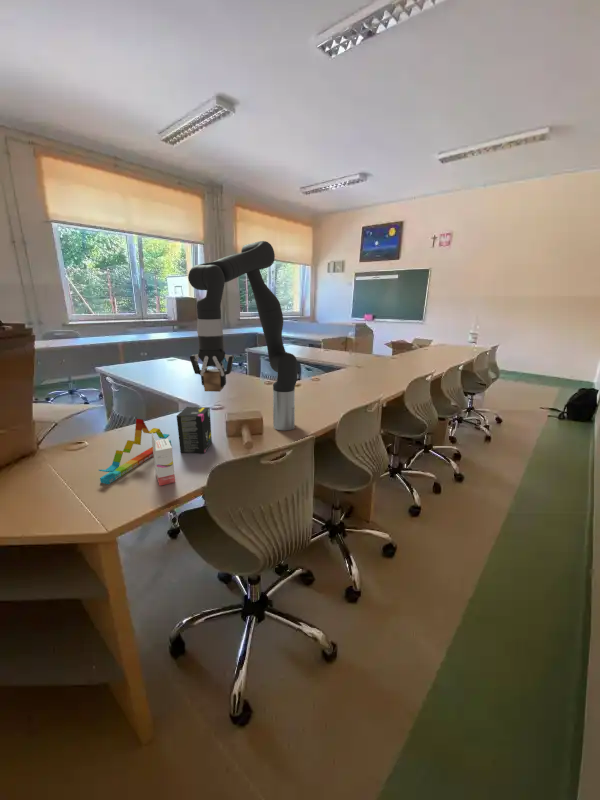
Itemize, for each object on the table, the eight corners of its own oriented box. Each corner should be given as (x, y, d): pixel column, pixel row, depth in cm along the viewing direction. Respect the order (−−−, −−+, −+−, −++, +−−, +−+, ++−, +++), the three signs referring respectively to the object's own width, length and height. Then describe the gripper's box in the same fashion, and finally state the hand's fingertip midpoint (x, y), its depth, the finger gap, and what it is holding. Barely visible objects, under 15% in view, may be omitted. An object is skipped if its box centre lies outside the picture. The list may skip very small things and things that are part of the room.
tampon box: (204, 453, 124) (201, 416, 120) (179, 453, 124) (175, 415, 120) (212, 441, 135) (210, 406, 130) (189, 441, 135) (186, 406, 130)
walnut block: (223, 387, 113) (222, 369, 111) (220, 391, 109) (219, 372, 107) (208, 387, 113) (207, 369, 112) (204, 391, 109) (203, 372, 107)
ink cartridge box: (176, 482, 105) (171, 438, 101) (159, 486, 103) (153, 441, 98) (171, 470, 112) (166, 429, 108) (155, 474, 110) (150, 431, 105)
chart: (109, 485, 104) (101, 439, 99) (100, 483, 104) (92, 438, 100) (171, 445, 131) (167, 408, 127) (164, 444, 132) (160, 407, 128)
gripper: (235, 332, 109) (238, 383, 114) (191, 332, 109) (195, 383, 114) (231, 335, 102) (233, 390, 107) (183, 335, 102) (188, 389, 107)
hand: (214, 386), depth 111 cm, fingers closed on walnut block, 5 cm apart
